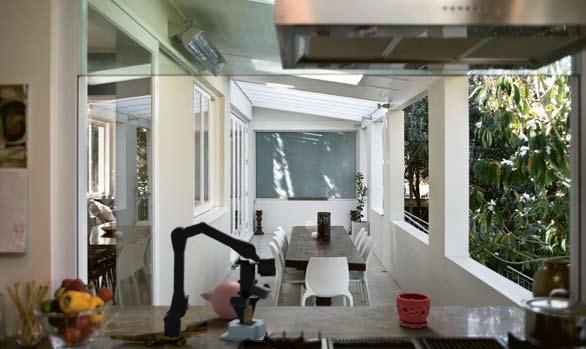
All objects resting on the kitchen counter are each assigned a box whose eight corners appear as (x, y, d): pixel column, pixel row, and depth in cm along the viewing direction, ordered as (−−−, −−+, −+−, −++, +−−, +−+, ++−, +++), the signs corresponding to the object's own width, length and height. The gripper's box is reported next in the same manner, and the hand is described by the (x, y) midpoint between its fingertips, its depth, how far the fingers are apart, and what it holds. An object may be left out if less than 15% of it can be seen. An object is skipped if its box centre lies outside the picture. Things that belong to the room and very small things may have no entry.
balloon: (204, 313, 219) (205, 277, 220) (250, 314, 218) (251, 278, 218) (195, 322, 204) (196, 283, 204) (244, 323, 202) (245, 284, 203)
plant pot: (389, 324, 204) (389, 294, 205) (415, 320, 210) (415, 291, 211) (411, 332, 193) (411, 300, 193) (437, 328, 199) (437, 297, 199)
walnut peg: (249, 335, 182) (249, 307, 182) (239, 334, 183) (239, 306, 183) (253, 332, 186) (253, 305, 186) (243, 331, 187) (243, 304, 187)
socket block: (261, 343, 176) (261, 328, 176) (219, 339, 181) (219, 325, 181) (272, 334, 188) (273, 320, 188) (233, 330, 192) (233, 317, 192)
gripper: (259, 282, 174) (258, 328, 173) (276, 274, 192) (276, 315, 191) (229, 280, 177) (228, 325, 176) (249, 272, 195) (248, 313, 194)
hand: (246, 320), depth 184 cm, fingers open, 9 cm apart
